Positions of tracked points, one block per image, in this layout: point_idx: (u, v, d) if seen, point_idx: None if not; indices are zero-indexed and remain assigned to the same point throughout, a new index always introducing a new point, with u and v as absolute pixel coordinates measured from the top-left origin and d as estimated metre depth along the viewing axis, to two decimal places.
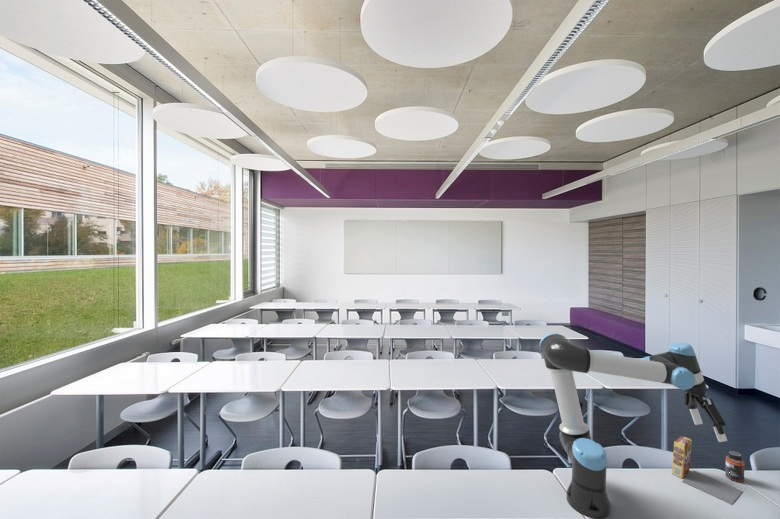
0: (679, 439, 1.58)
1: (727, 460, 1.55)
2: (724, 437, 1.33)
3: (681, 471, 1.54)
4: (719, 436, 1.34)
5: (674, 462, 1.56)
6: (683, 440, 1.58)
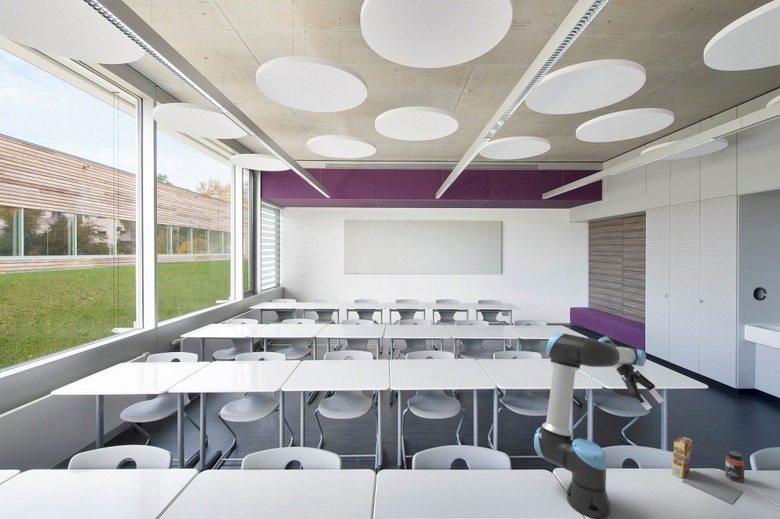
0: (679, 439, 1.58)
1: (727, 460, 1.55)
2: None
3: (681, 471, 1.54)
4: None
5: (674, 462, 1.56)
6: (683, 440, 1.58)
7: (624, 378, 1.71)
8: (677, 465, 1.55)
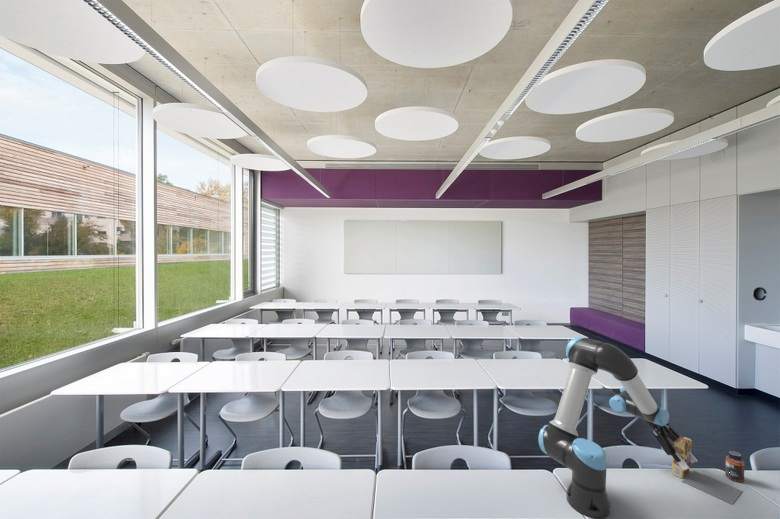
0: (679, 439, 1.58)
1: (727, 460, 1.55)
2: None
3: (681, 471, 1.54)
4: None
5: (674, 462, 1.56)
6: (683, 440, 1.58)
7: (655, 433, 1.61)
8: (677, 465, 1.55)
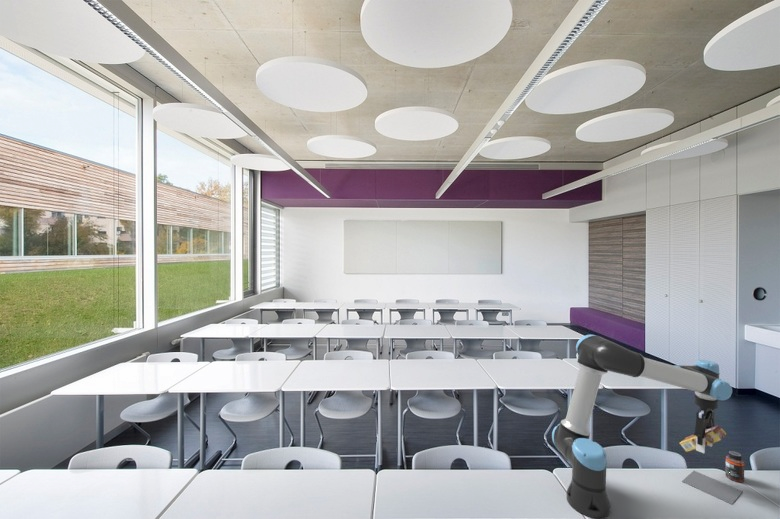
0: (717, 430, 1.47)
1: (727, 460, 1.55)
2: None
3: (692, 449, 1.51)
4: None
5: (692, 440, 1.51)
6: (720, 432, 1.47)
7: (700, 416, 1.47)
8: (693, 443, 1.51)
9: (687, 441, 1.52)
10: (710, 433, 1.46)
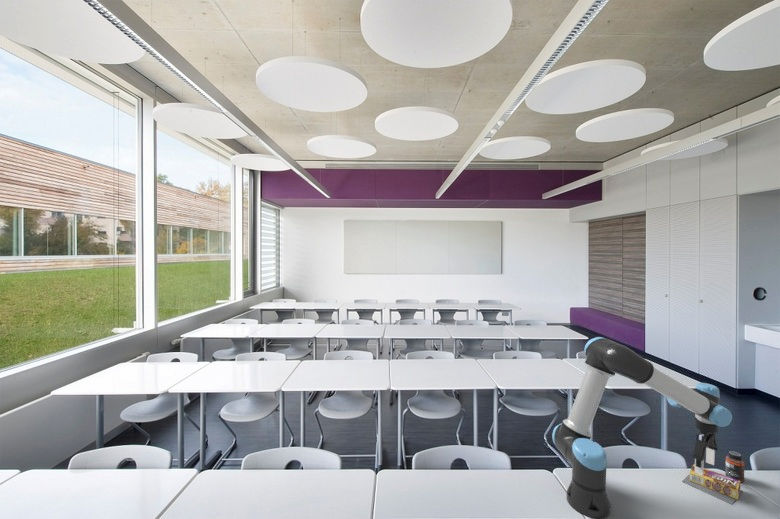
0: (739, 487, 1.43)
1: (727, 460, 1.55)
2: None
3: (698, 483, 1.50)
4: None
5: (706, 480, 1.48)
6: (739, 490, 1.44)
7: (700, 438, 1.47)
8: (704, 482, 1.48)
9: (700, 477, 1.49)
10: (733, 490, 1.42)
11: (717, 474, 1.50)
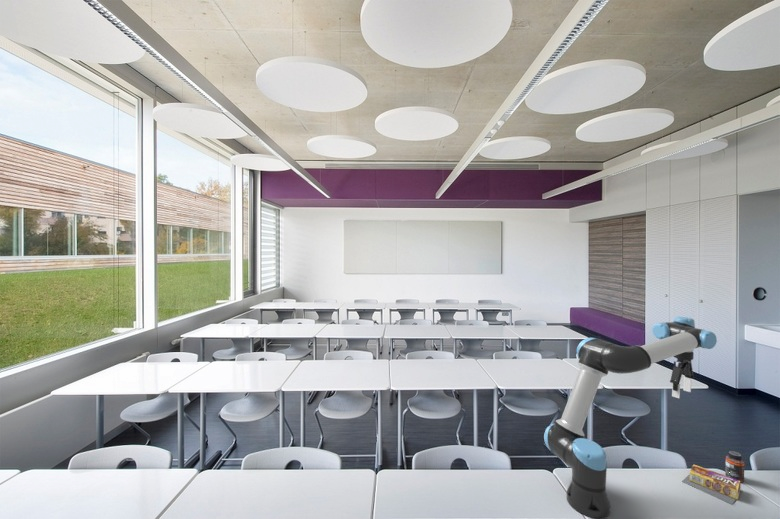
0: (739, 487, 1.43)
1: (727, 460, 1.55)
2: None
3: (698, 483, 1.50)
4: None
5: (706, 480, 1.48)
6: (739, 490, 1.44)
7: (676, 364, 1.62)
8: (704, 482, 1.48)
9: (700, 477, 1.49)
10: (733, 490, 1.42)
11: (717, 474, 1.50)
